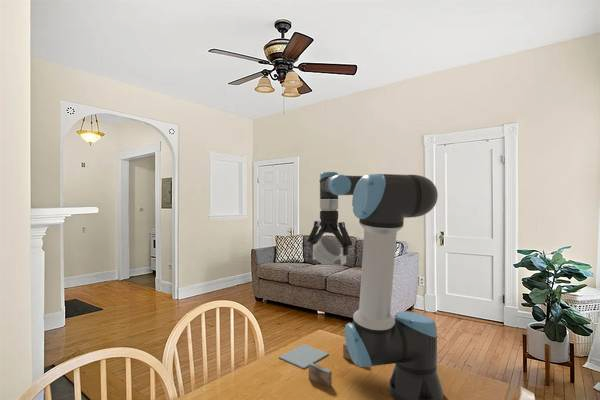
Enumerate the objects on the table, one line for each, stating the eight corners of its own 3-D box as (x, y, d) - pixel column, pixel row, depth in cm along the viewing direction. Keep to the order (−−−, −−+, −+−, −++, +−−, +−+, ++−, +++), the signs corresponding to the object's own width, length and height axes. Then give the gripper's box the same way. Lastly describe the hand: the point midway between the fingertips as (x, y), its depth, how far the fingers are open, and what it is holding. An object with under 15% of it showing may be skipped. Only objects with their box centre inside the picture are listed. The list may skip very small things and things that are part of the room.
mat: (328, 354, 124) (328, 353, 124) (303, 369, 114) (303, 367, 114) (304, 345, 132) (304, 344, 132) (278, 358, 122) (278, 356, 122)
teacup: (305, 249, 137) (316, 237, 134) (319, 246, 146) (331, 234, 142) (325, 277, 132) (338, 265, 128) (339, 272, 140) (351, 260, 137)
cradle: (364, 362, 118) (364, 349, 118) (328, 387, 102) (328, 372, 102) (345, 355, 123) (345, 343, 123) (308, 378, 108) (308, 364, 108)
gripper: (360, 210, 132) (360, 264, 132) (310, 209, 149) (311, 256, 149) (350, 210, 126) (350, 266, 126) (299, 209, 143) (299, 259, 143)
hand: (329, 262), depth 138 cm, fingers closed on teacup, 13 cm apart
